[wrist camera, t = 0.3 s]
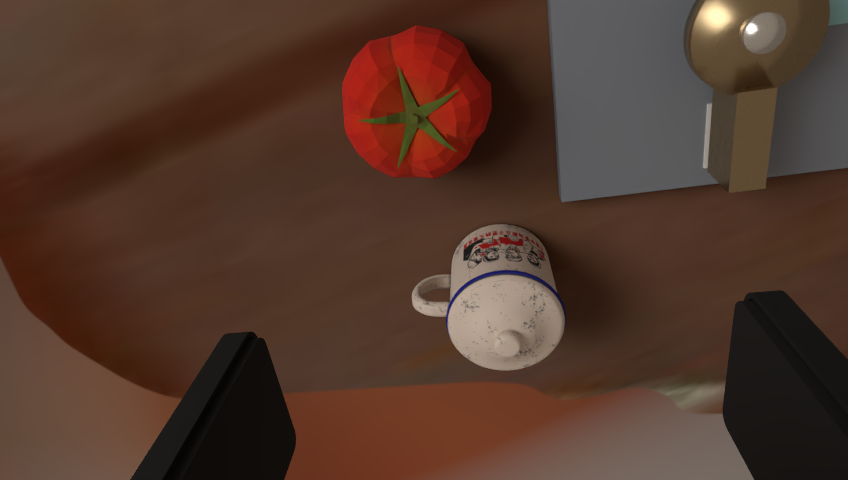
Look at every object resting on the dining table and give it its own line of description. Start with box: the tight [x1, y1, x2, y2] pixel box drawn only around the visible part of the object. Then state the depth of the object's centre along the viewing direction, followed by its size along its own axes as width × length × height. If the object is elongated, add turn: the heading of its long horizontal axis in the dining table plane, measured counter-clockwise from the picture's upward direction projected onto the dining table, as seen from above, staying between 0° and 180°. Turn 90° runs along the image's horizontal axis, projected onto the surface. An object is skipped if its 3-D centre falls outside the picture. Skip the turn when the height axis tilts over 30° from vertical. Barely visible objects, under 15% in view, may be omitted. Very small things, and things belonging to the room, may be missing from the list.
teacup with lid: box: [412, 224, 566, 370], centre depth 46 cm, size 12×9×12 cm
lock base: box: [547, 0, 848, 202], centre depth 38 cm, size 24×24×4 cm
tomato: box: [342, 25, 492, 178], centre depth 41 cm, size 11×11×8 cm
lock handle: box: [683, 0, 830, 193], centre depth 38 cm, size 14×8×4 cm, turn 9°
